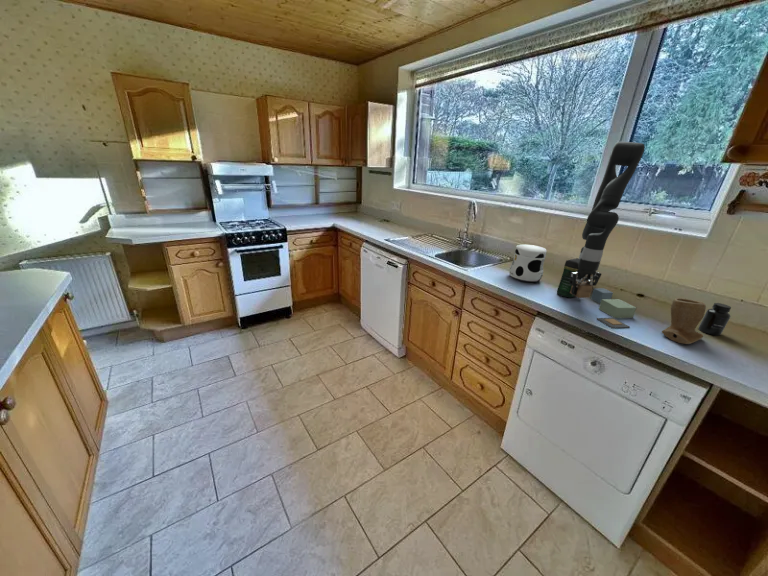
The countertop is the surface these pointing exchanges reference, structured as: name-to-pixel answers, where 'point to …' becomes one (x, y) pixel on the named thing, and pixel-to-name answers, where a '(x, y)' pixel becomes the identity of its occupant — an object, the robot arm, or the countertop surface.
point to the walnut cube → (583, 290)
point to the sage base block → (617, 308)
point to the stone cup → (685, 320)
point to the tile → (613, 322)
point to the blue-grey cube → (601, 294)
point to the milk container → (528, 263)
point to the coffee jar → (567, 277)
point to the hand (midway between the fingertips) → (579, 294)
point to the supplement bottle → (715, 319)
